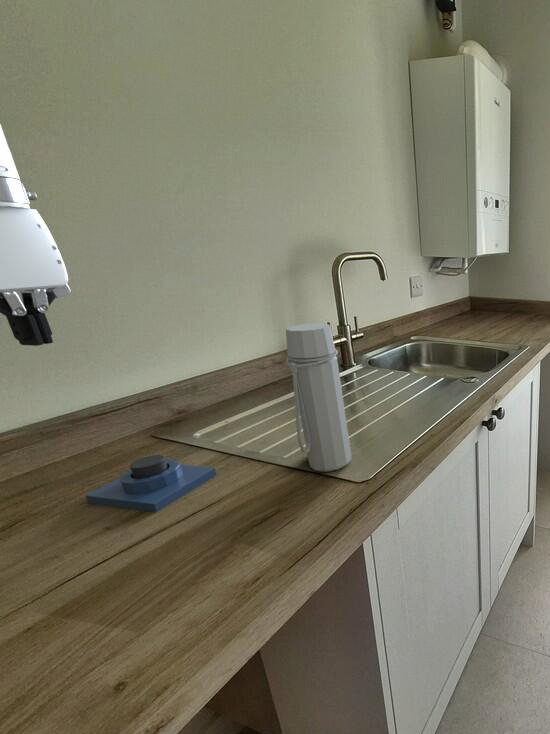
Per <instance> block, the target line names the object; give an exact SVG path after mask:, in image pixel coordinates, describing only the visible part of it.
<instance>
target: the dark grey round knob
mask: <svg viewBox="0 0 550 734" xmlns="http://www.w3.org/2000/svg"><path fill="white" fill-rule="evenodd" d="M165 460H166V458H165V455H163V454H152V455H148V456H144V457H140V458H138V459H136V460H134V461H133V462H131V463H130V465H129V468H130V470H131V471H132V474H133V477H134V479H141V478H148V477H152V476H155V475H158V474H160V473H162V472H164V471H166V470H167V469H168V467H167V464H166V461H165Z"/></svg>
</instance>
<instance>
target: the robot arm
mask: <svg viewBox="0 0 550 734" xmlns="http://www.w3.org/2000/svg"><path fill="white" fill-rule="evenodd" d="M37 199H38V196H37V193H36V192H35V190H34V189H30V188H26V187H24V183H23V182H22V181H21V178H20V175H19V172H18V169H17V165H16V163H15V160H14V158H13V155H12V152H11V150H10V147H9V143H8V141H7V138H6V136H5V133H4V130H3V127H2V124H1V123H0V315H1V316H5V317H6V320H7V322H8V325H9V328H10V330H11V332H12V334H13V335H12V336H13V338H15V340H17V341H18V343H19V344H20V345H21V346H35V347H37V346H43V345H48V344H49V345H50V344H53V342H54V340H53V338H52V336H53V331H52V329H51V326H50V324H49V321H48V318H47V315H46V313H48V312H49V311H50V306H51V304H52V303H53V302H54V300H56V299H59V298H62V297H66V296H68V295H70V294H71V292H72V291H71V288H70V286H69V285H68V282H69V275H68V271H67V268H66V265H65V261H64V259H63V257H62V255H61V252H60V250H59V248H58V245H57V243H56V241H55V239H54V237H53V235H52V233H51V231H50V229H49V228H48V226H47V224H46V223H45V221H44V219H43V217H42V216H41V215H40V213H39V212H38V210H37V209H35V208H31V207H30V201H36V200H37ZM17 292H18V294H17Z"/></svg>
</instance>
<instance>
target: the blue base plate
mask: <svg viewBox="0 0 550 734" xmlns="http://www.w3.org/2000/svg"><path fill="white" fill-rule="evenodd" d="M165 461H166V464H167V467H168V469H167V470H166V471H164V472H162V473H160V474H158V475H155V476H152V477H148V478H141V479H134V477H133V474H132V471H131V469H129V470H126V471H125V472H123V474H122V475H121V476H119V478H118V479H116V480H114V481H112V482H110V483H108V484H105V485H103V486H102V487H100V488H98V489H96V490H93V491H92V492H90V493H88V494H85V498H86V501H87V503H88V504H89V505H96V506H103V507H104V506H106V507H114V508H120V509H130V510H137V511H145V512H153V513H158V512H159V511H161V510H162V509H165V508H166V507H168V506H169V505H171V504H172V503H174V502H176V501H177V500H179V499H181V498H182V497H184V496H185V495H187V494H188V493H190V492H192V491H194V490H195V489H197V488H199V487H200V486H202V485H204V484H205V483H207V482H208V481H210V480H212V479H213V478H215V477H216V476H217V475H218V474H217V470H216V468H215V467H209V466H199V465H189V464H181V463H180V462H179V461H178V460H177V459H169V458H167V459H166V458H165Z"/></svg>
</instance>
